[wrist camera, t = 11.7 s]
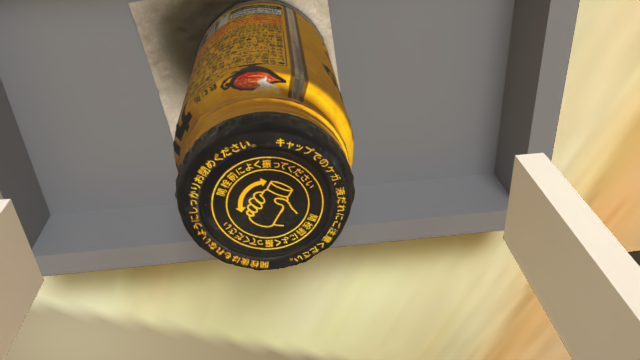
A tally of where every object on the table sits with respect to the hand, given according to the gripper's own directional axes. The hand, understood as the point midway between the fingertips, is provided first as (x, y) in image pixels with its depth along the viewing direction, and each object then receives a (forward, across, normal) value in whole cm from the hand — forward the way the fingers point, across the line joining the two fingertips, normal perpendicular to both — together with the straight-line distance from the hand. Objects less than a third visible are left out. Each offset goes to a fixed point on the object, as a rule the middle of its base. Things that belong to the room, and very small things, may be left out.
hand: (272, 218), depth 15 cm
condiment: (+13, -1, 0) cm, 13 cm away
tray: (+14, 0, 0) cm, 14 cm away
